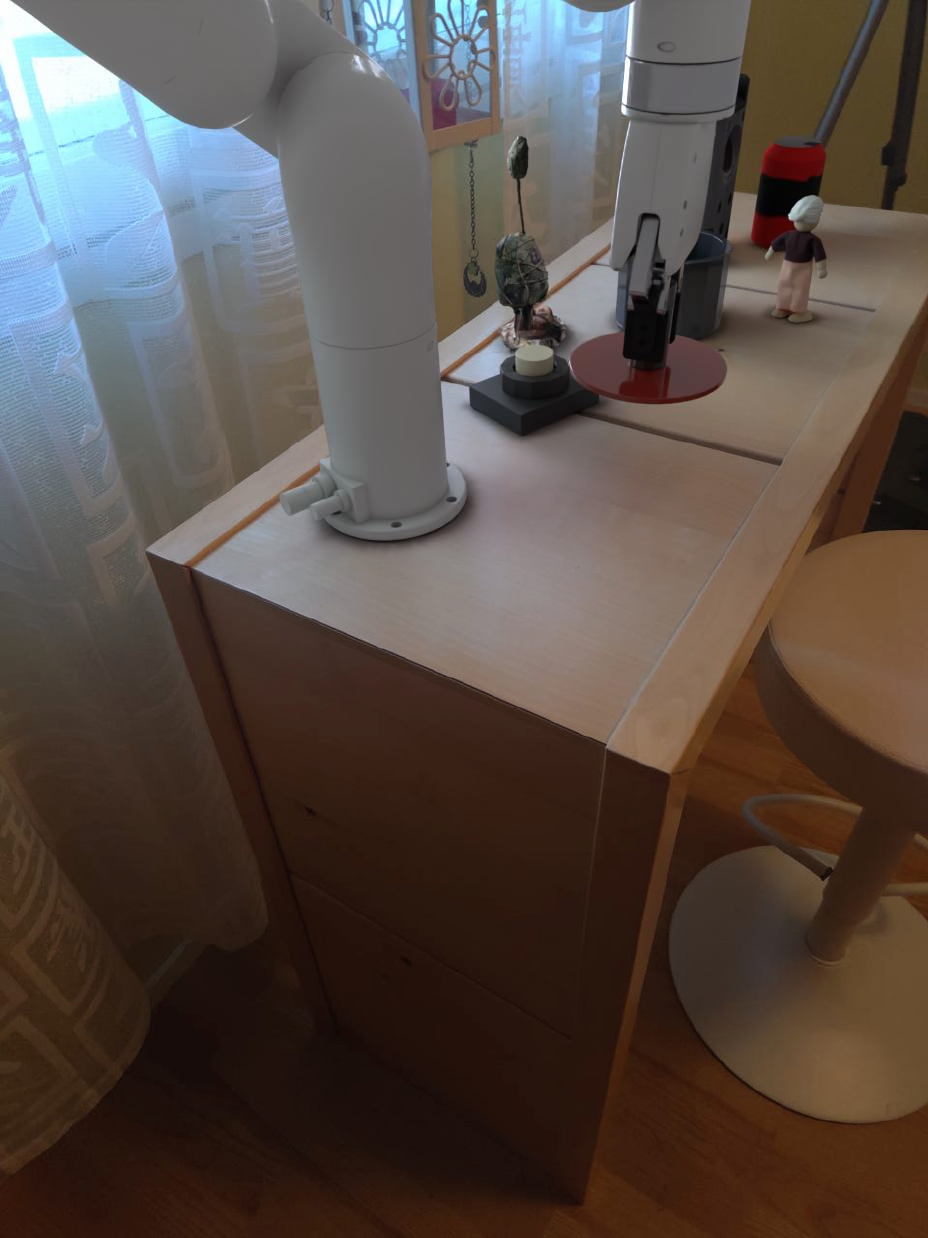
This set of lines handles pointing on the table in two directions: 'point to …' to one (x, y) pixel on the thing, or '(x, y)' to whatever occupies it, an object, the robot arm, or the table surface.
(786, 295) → the grandmother figurine
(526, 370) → the button
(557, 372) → the control block
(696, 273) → the pot
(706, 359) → the lid
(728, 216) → the electronic device
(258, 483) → the table surface
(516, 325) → the plant with pod
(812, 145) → the soda can
